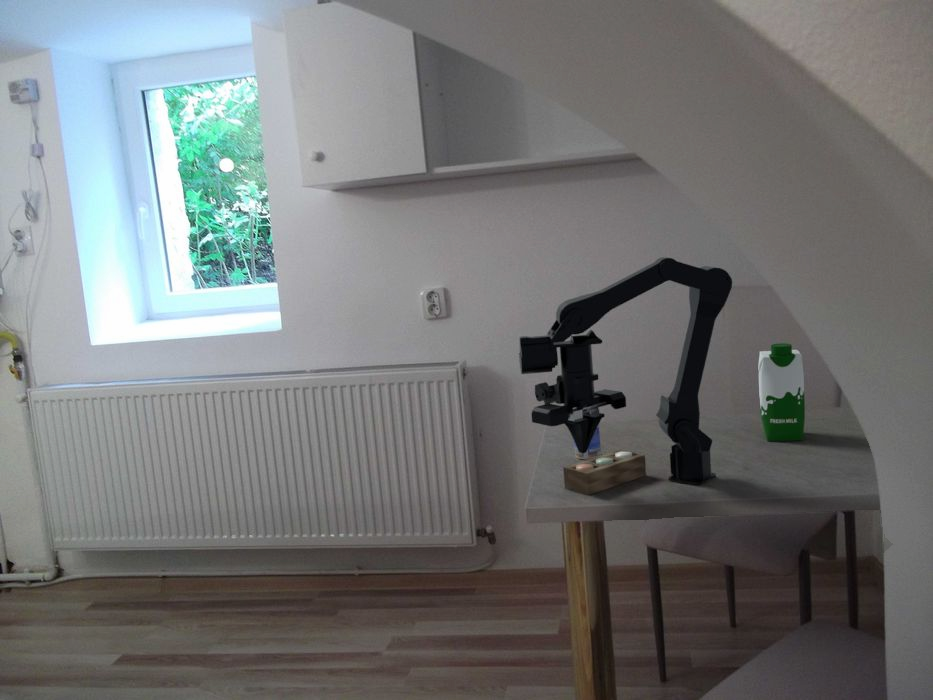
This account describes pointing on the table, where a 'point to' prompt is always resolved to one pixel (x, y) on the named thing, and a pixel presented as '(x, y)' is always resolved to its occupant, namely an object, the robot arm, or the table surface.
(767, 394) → the milk carton
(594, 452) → the pill bottle
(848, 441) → the table surface
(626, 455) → the white rounded piece
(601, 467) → the wooden egg tray
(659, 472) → the table surface
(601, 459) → the sage egg
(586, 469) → the peach oval piece
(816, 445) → the table surface
